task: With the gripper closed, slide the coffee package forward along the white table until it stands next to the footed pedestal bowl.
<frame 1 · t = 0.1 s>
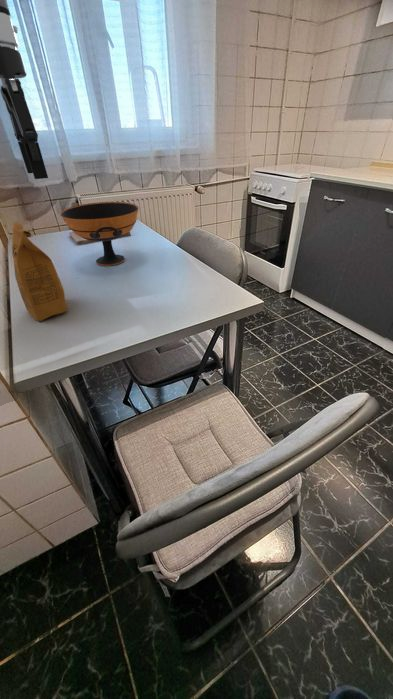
hand: (37, 175, 70), 31 cm above the table, tool pointing down, fingers open, 13 cm apart
coffee package: (48, 310, 81), on the table
footed pedestal bowl: (110, 261, 110), on the table
chopping board: (100, 235, 136), on the table
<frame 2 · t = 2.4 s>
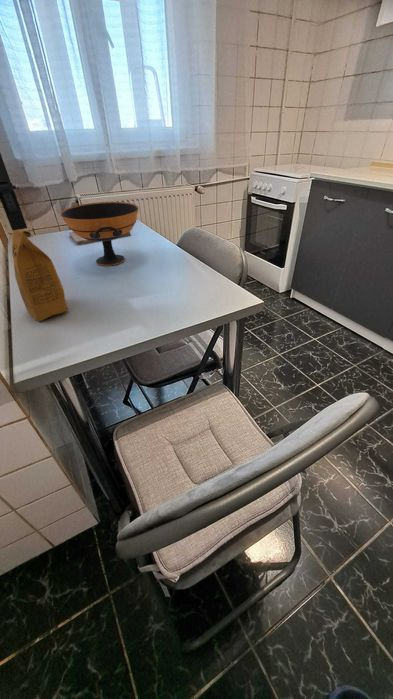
hand: (19, 228, 58), 24 cm above the table, tool pointing down, fingers closed
nothing on the table moved.
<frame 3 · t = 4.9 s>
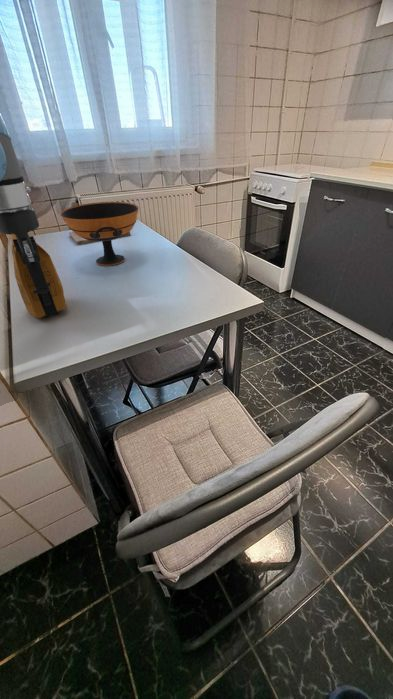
hand: (51, 314, 71), 4 cm above the table, tool pointing down, fingers closed
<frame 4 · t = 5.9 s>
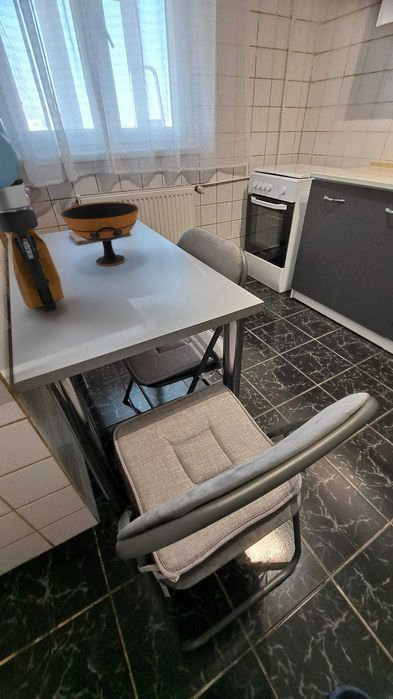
hand: (51, 309, 74), 3 cm above the table, tool pointing down, fingers closed
coffee package: (46, 304, 80), point 2 cm above the table, touching gripper, hand
everything else where it was.
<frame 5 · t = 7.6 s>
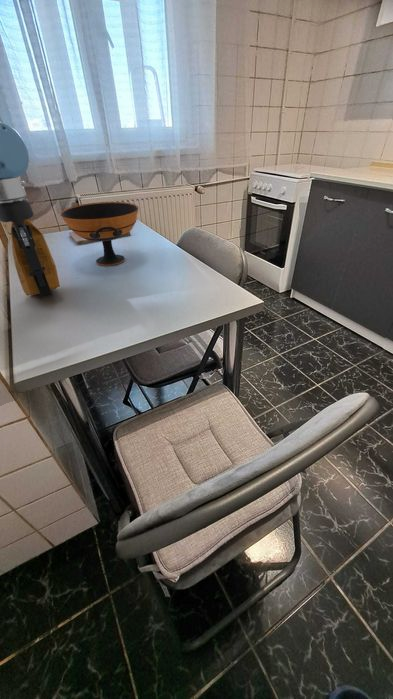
hand: (46, 295, 80), 3 cm above the table, tool pointing down, fingers closed
coffee package: (44, 292, 85), point 2 cm above the table, touching gripper, hand
everything else where it was.
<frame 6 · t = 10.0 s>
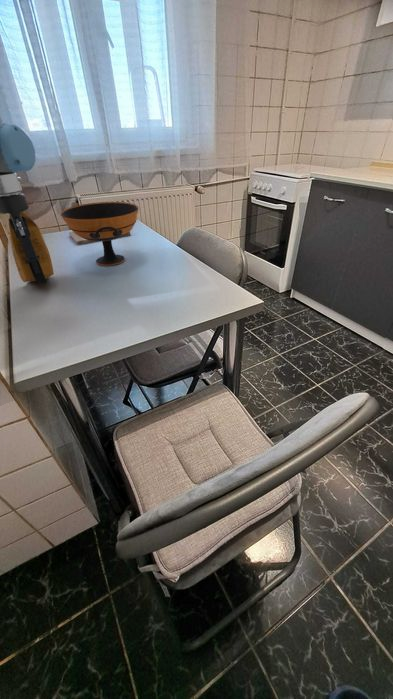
hand: (41, 282, 87), 3 cm above the table, tool pointing down, fingers closed
coffee package: (39, 280, 93), point 2 cm above the table, touching gripper, hand
everything else where it was.
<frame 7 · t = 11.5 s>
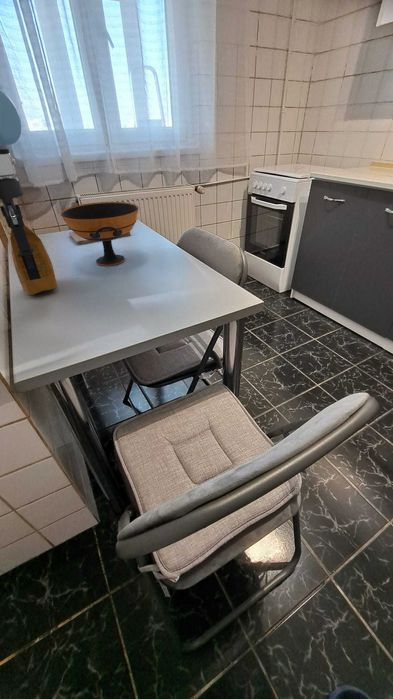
hand: (35, 278, 79), 8 cm above the table, tool pointing down, fingers closed
coffee package: (41, 288, 91), on the table
everything else where it was.
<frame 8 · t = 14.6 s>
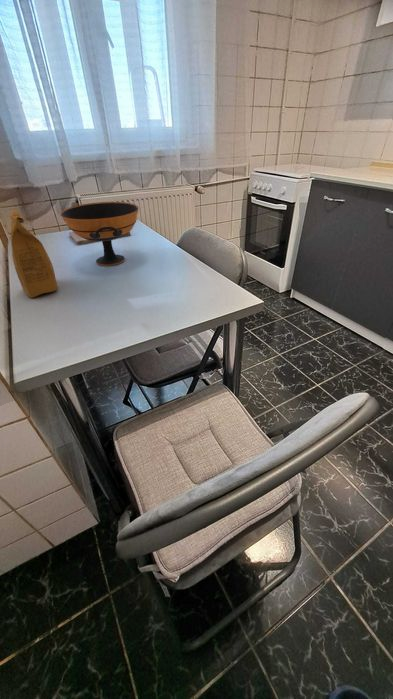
nothing on the table moved.
at the end: coffee package inside the target area (4.2 cm from its centre), on the table; coffee package tilted 0°; coffee package 28.2 cm from the footed pedestal bowl (horizontally) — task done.
